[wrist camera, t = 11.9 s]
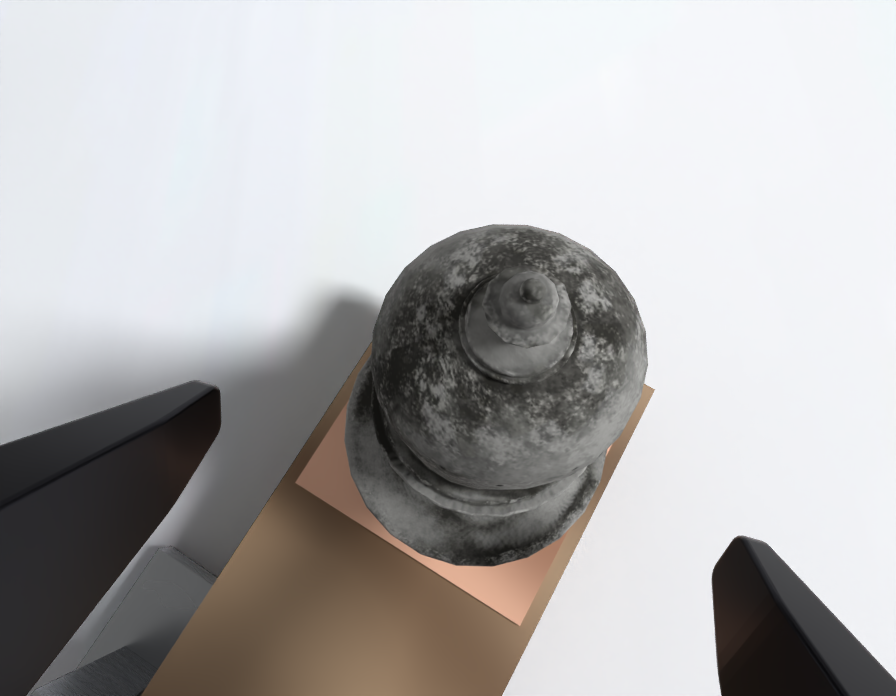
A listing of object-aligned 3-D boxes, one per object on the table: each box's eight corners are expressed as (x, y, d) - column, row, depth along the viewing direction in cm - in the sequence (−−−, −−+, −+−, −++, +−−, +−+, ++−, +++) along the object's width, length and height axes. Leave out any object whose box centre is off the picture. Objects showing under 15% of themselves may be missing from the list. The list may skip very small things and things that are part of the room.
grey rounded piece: (588, 537, 15) (1103, 702, 3) (374, 561, 15) (90, 828, 3) (555, 332, 16) (820, -64, 5) (360, 352, 16) (136, -5, 5)
